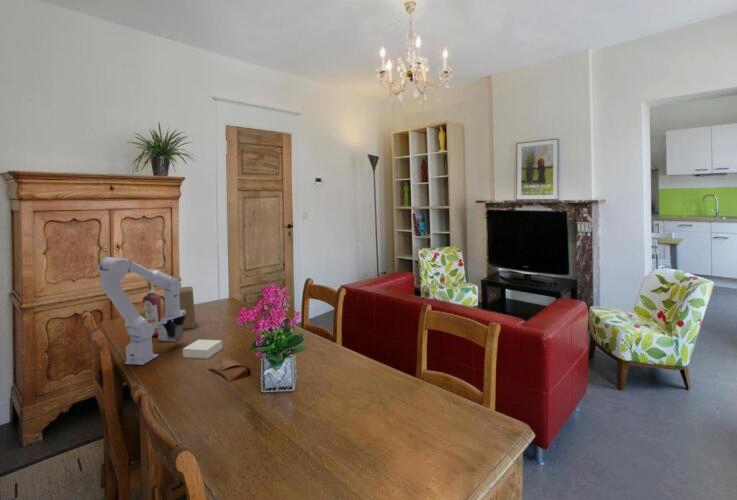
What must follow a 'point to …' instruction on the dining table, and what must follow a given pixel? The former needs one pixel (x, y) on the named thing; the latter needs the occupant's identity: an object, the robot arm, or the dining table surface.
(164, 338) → the medicine box
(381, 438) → the dining table surface
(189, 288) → the wooden block
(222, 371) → the sunglasses case
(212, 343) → the white flat panel
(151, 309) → the liquor
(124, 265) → the robot arm
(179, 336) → the charcoal block
